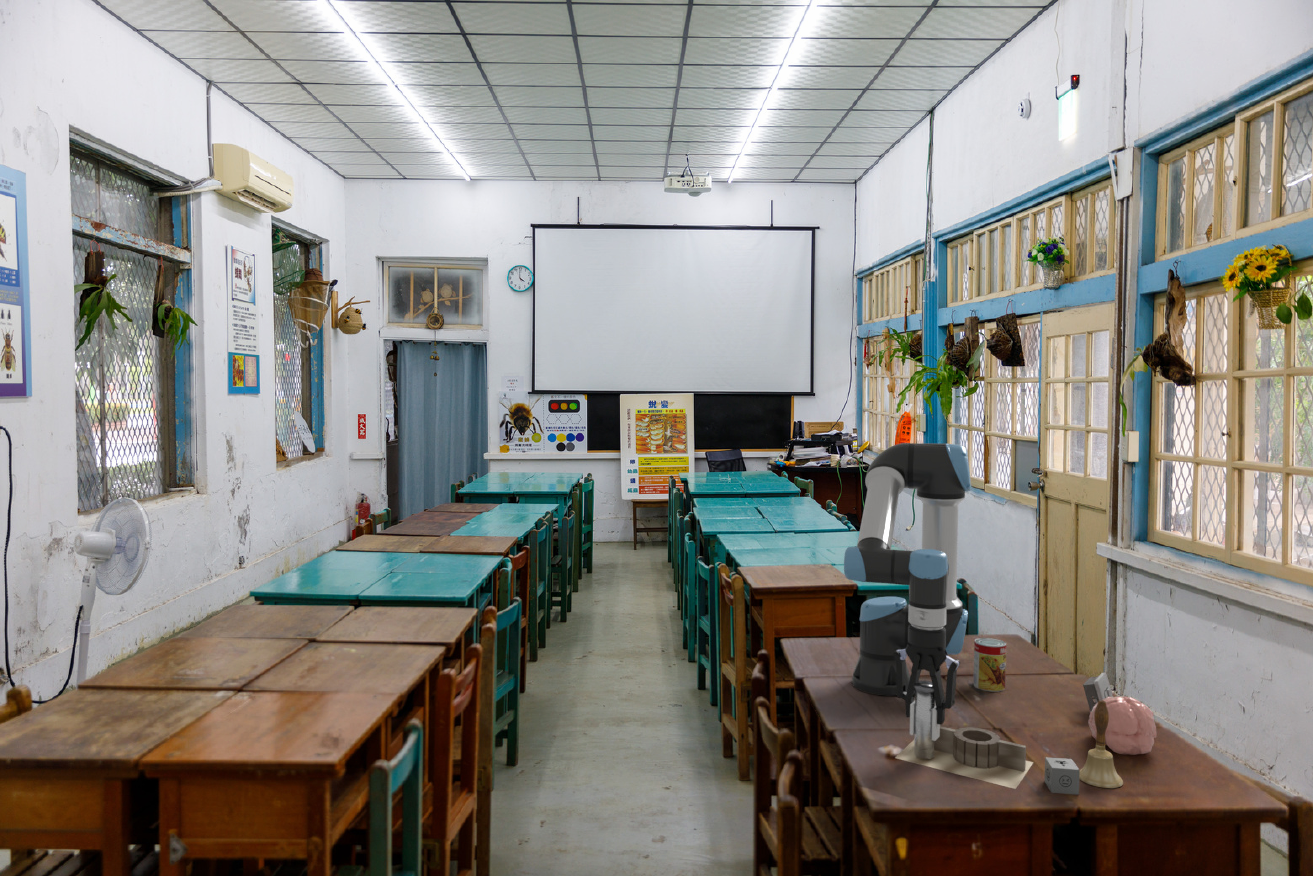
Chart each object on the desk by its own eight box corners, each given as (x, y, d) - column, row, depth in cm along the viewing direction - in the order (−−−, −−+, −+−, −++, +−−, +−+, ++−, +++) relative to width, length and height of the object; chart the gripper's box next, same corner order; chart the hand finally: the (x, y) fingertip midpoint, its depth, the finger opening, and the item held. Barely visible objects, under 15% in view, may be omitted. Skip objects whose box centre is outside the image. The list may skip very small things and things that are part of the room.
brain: (1082, 754, 196) (1075, 698, 201) (1142, 757, 195) (1134, 700, 199) (1107, 753, 182) (1099, 692, 186) (1172, 755, 180) (1163, 694, 184)
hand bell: (1068, 771, 178) (1070, 694, 177) (1107, 769, 178) (1109, 693, 178) (1092, 789, 170) (1094, 709, 169) (1132, 788, 170) (1135, 708, 169)
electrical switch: (1108, 722, 205) (1105, 682, 205) (1084, 718, 208) (1081, 680, 208) (1116, 711, 212) (1113, 673, 212) (1093, 708, 215) (1090, 670, 215)
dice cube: (1071, 783, 172) (1071, 759, 172) (1078, 795, 167) (1079, 770, 167) (1044, 781, 173) (1045, 757, 173) (1051, 793, 168) (1052, 767, 168)
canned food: (1009, 692, 225) (1011, 646, 224) (979, 691, 225) (980, 646, 225) (998, 682, 233) (1000, 638, 232) (969, 681, 233) (970, 637, 232)
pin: (908, 756, 180) (909, 685, 179) (916, 747, 184) (917, 678, 183) (932, 762, 177) (933, 690, 177) (939, 753, 182) (941, 683, 181)
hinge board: (894, 763, 181) (895, 734, 180) (918, 740, 193) (919, 713, 193) (1015, 795, 167) (1016, 763, 166) (1033, 768, 179) (1034, 738, 179)
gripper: (880, 622, 181) (878, 731, 183) (963, 636, 171) (960, 752, 173) (893, 615, 187) (891, 720, 189) (974, 628, 177) (971, 739, 179)
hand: (924, 735), depth 181 cm, fingers closed on pin, 4 cm apart
